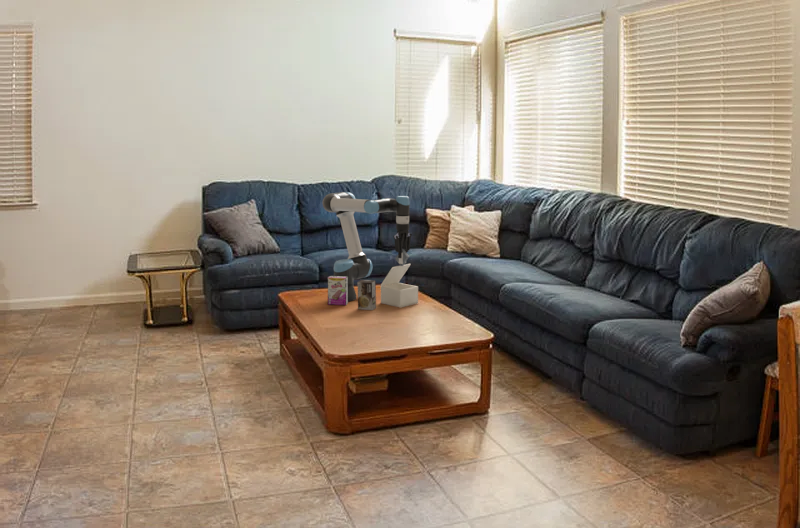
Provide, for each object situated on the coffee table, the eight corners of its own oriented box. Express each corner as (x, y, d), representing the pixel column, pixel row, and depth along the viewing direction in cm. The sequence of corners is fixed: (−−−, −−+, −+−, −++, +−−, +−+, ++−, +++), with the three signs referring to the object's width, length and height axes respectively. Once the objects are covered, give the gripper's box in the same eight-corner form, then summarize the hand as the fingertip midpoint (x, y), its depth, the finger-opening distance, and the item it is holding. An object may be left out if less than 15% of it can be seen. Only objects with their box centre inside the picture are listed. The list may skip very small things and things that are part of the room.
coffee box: (376, 307, 445) (376, 280, 442) (372, 310, 439) (372, 282, 436) (361, 306, 448) (361, 279, 445) (357, 309, 442) (357, 281, 439)
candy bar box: (327, 305, 452) (327, 277, 449) (329, 303, 457) (328, 275, 454) (346, 305, 451) (346, 277, 448) (348, 303, 456) (347, 276, 453)
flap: (380, 286, 455) (375, 278, 458) (398, 282, 466) (392, 275, 468) (399, 258, 441) (393, 250, 444) (417, 254, 452) (411, 247, 455)
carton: (380, 303, 457) (380, 286, 455) (398, 298, 468) (398, 282, 466) (400, 307, 446) (400, 290, 444) (418, 303, 457) (418, 286, 455)
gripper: (398, 224, 438) (398, 265, 443) (416, 222, 449) (416, 262, 454) (388, 223, 443) (388, 264, 448) (407, 221, 454) (406, 260, 459)
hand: (402, 263), depth 451 cm, fingers closed on flap, 2 cm apart
